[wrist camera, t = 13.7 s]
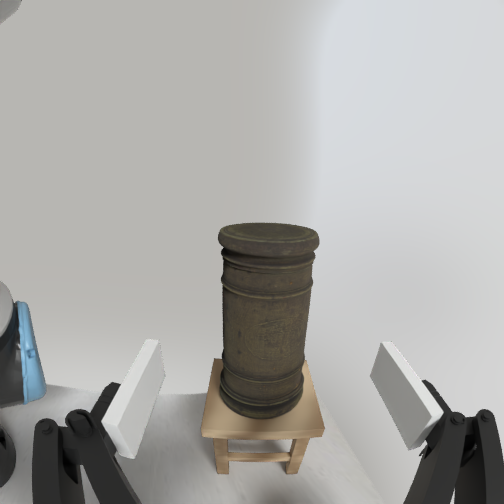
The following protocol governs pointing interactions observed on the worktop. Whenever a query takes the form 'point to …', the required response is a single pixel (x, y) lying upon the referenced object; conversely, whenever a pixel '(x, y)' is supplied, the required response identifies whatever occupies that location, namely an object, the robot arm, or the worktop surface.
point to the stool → (261, 426)
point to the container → (265, 315)
